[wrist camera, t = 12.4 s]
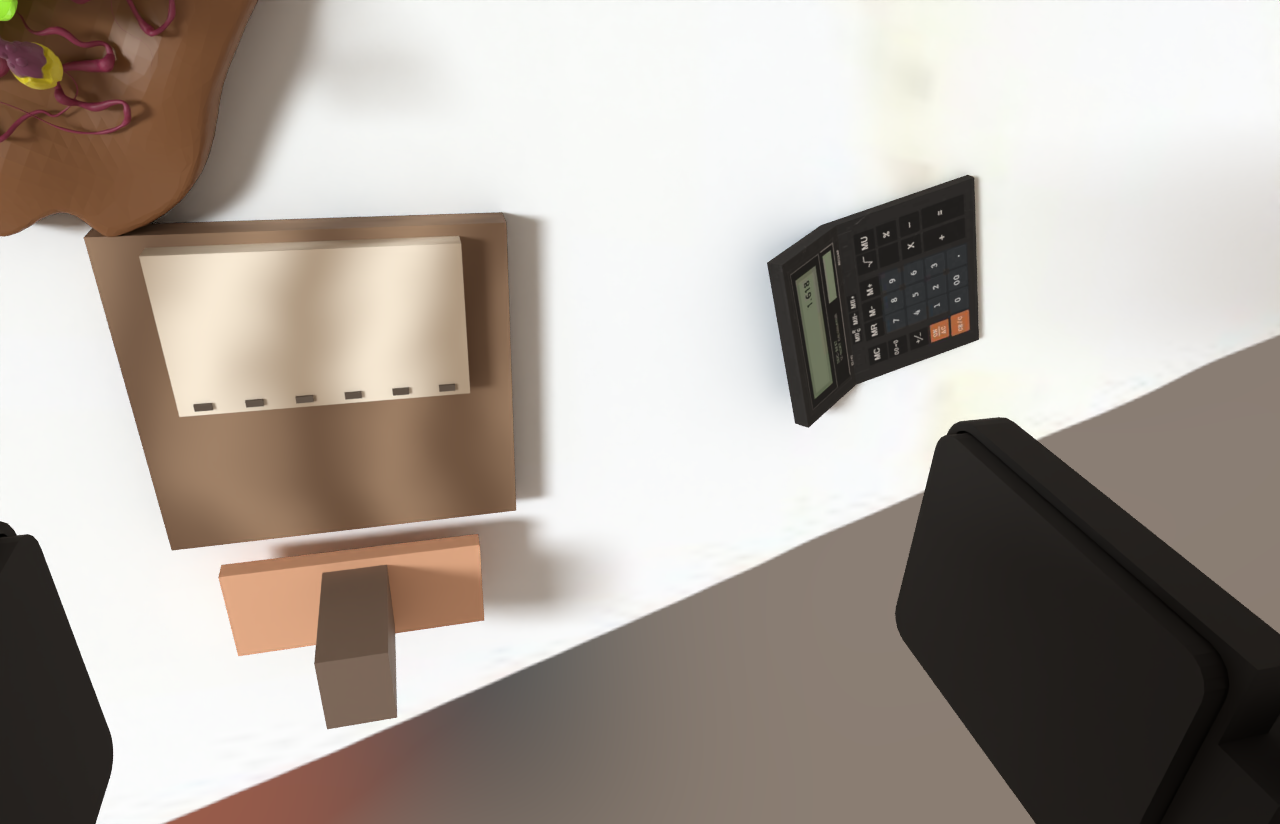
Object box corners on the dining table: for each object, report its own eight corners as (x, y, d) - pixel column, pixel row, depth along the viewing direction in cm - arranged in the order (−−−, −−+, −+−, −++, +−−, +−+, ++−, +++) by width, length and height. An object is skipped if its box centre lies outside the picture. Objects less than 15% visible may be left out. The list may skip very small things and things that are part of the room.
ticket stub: (478, 533, 44) (493, 628, 38) (482, 608, 46) (497, 708, 40) (221, 565, 41) (195, 672, 35) (240, 643, 43) (219, 755, 37)
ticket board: (502, 212, 38) (509, 230, 36) (512, 493, 45) (519, 523, 43) (94, 225, 34) (75, 247, 32) (178, 531, 41) (167, 565, 39)
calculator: (969, 333, 48) (1002, 356, 46) (778, 402, 47) (800, 430, 45) (964, 173, 43) (1000, 189, 41) (749, 247, 42) (773, 268, 40)
